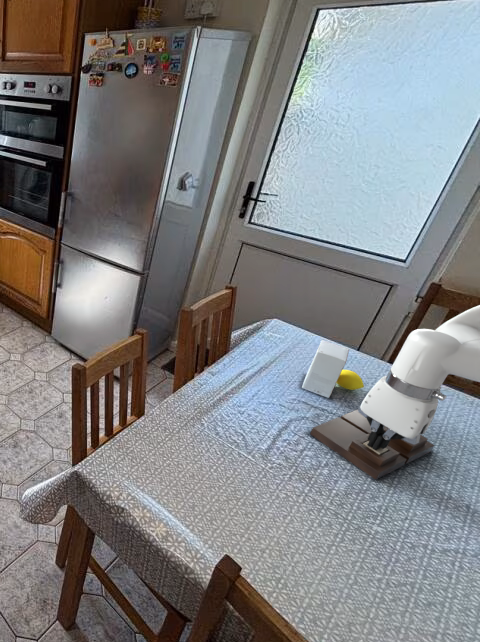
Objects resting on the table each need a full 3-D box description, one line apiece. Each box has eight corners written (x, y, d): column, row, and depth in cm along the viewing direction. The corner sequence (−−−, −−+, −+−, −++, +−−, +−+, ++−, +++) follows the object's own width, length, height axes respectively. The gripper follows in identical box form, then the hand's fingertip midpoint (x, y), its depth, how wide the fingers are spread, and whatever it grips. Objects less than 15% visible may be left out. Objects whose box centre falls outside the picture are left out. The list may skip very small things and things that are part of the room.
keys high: (402, 466, 95) (410, 453, 93) (375, 479, 92) (383, 467, 90) (335, 423, 107) (341, 411, 105) (309, 434, 104) (315, 422, 102)
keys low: (430, 451, 98) (438, 439, 97) (405, 464, 95) (413, 452, 94) (362, 411, 110) (368, 400, 109) (338, 422, 107) (343, 410, 106)
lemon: (326, 383, 121) (332, 368, 119) (335, 377, 123) (342, 362, 121) (355, 397, 115) (362, 382, 113) (364, 391, 117) (372, 376, 115)
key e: (385, 454, 95) (388, 449, 94) (376, 459, 94) (379, 453, 93) (369, 444, 98) (372, 439, 97) (360, 448, 97) (363, 443, 96)
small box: (329, 398, 115) (346, 361, 109) (301, 388, 119) (317, 351, 113) (332, 384, 120) (349, 348, 115) (306, 375, 124) (321, 339, 119)
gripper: (469, 403, 82) (426, 467, 90) (379, 359, 95) (348, 419, 103) (447, 413, 80) (405, 477, 88) (358, 367, 93) (329, 427, 100)
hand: (375, 446), depth 95 cm, fingers closed
